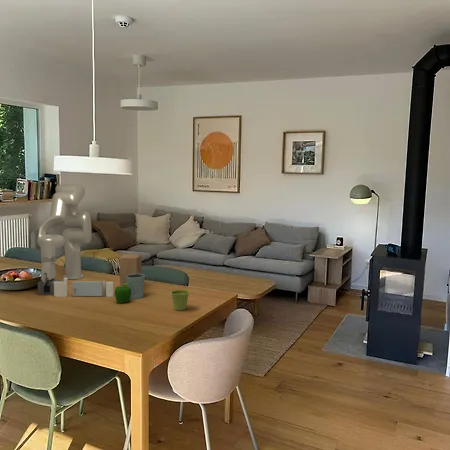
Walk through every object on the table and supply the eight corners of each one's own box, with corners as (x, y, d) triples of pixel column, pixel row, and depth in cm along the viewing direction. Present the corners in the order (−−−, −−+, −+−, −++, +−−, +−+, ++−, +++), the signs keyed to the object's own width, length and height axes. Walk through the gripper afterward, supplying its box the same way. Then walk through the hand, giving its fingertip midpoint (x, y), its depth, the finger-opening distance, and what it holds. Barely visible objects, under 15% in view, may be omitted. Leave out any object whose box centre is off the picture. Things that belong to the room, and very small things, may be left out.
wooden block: (142, 287, 263) (141, 254, 260) (137, 292, 253) (136, 257, 251) (125, 287, 264) (125, 253, 261) (120, 291, 254) (119, 257, 252)
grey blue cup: (126, 299, 239) (125, 277, 237) (126, 294, 249) (125, 273, 247) (145, 298, 241) (145, 277, 239) (144, 293, 251) (144, 272, 249)
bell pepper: (111, 303, 233) (110, 284, 232) (121, 299, 240) (120, 280, 239) (124, 305, 229) (123, 286, 228) (134, 301, 237) (133, 282, 235)
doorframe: (55, 295, 245) (54, 277, 243) (113, 296, 245) (113, 278, 244) (54, 296, 243) (53, 278, 242) (113, 296, 244) (112, 279, 242)
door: (102, 295, 245) (102, 281, 244) (101, 296, 242) (100, 282, 241) (73, 295, 244) (73, 281, 243) (71, 296, 242) (71, 282, 241)
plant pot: (168, 307, 227) (168, 290, 226) (186, 305, 231) (186, 288, 229) (173, 312, 218) (173, 295, 217) (191, 310, 222) (191, 293, 221)
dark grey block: (44, 290, 254) (43, 279, 253) (61, 291, 253) (60, 280, 252) (38, 294, 247) (37, 282, 246) (55, 294, 246) (55, 283, 245)
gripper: (47, 256, 256) (48, 285, 258) (35, 262, 239) (36, 294, 241) (60, 256, 256) (61, 286, 259) (49, 262, 239) (50, 294, 241)
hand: (49, 290), depth 250 cm, fingers closed on dark grey block, 7 cm apart
